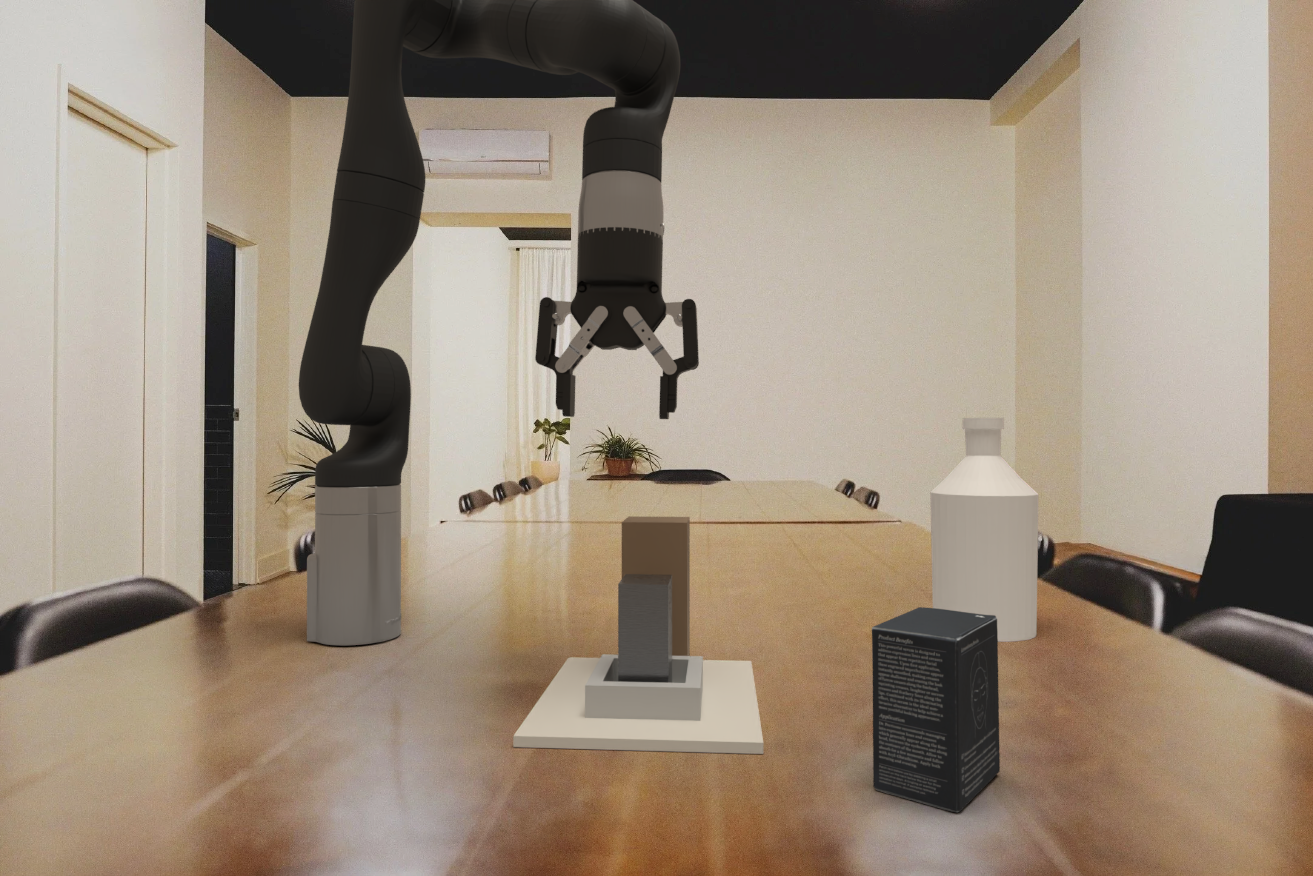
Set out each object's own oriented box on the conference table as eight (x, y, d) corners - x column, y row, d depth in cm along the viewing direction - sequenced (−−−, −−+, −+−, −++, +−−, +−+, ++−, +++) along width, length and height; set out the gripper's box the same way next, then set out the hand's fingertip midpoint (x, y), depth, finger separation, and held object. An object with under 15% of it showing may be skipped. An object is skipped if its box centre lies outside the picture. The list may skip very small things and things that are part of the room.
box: (918, 754, 58) (918, 605, 58) (1001, 775, 55) (1001, 615, 55) (869, 790, 52) (869, 623, 52) (959, 816, 49) (958, 637, 49)
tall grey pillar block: (618, 709, 65) (618, 584, 66) (625, 690, 70) (625, 574, 71) (668, 711, 65) (668, 584, 65) (672, 692, 70) (672, 574, 70)
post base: (513, 747, 60) (513, 542, 60) (568, 665, 82) (568, 516, 82) (763, 754, 58) (763, 544, 58) (751, 669, 80) (751, 517, 80)
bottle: (1006, 647, 89) (1005, 415, 89) (910, 628, 98) (910, 418, 98) (1058, 631, 96) (1057, 418, 96) (964, 615, 105) (964, 420, 106)
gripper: (531, 223, 69) (526, 415, 70) (699, 223, 68) (695, 419, 68) (550, 243, 77) (546, 417, 77) (702, 244, 76) (698, 420, 76)
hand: (616, 417), depth 73 cm, fingers open, 8 cm apart
